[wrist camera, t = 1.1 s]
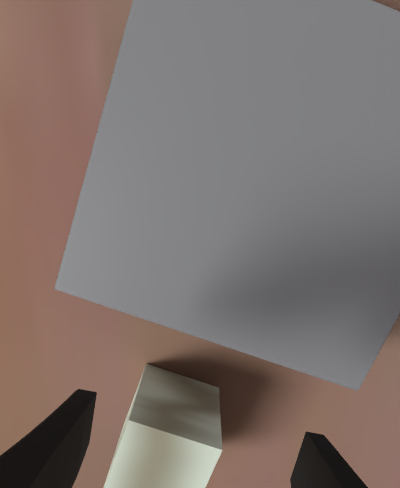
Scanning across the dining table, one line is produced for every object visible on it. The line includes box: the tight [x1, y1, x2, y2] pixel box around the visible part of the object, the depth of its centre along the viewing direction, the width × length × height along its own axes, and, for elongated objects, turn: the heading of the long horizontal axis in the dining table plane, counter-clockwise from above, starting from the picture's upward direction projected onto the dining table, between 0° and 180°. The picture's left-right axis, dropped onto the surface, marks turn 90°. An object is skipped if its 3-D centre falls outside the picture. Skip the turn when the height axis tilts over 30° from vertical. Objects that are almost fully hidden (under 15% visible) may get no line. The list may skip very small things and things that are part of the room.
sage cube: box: [104, 364, 222, 488], centre depth 20 cm, size 5×5×5 cm
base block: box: [54, 0, 400, 391], centre depth 17 cm, size 16×16×4 cm
